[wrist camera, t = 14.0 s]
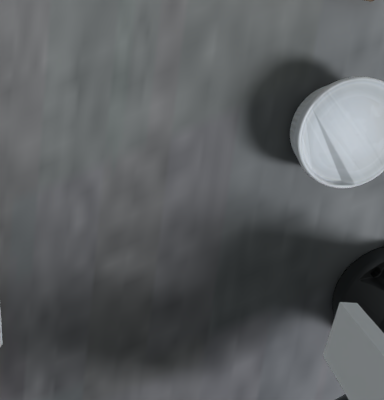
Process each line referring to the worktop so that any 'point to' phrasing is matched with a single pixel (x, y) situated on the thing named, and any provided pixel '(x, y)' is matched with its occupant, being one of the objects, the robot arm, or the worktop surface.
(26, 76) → the worktop surface
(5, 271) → the worktop surface
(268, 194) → the worktop surface
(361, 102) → the ramekin
